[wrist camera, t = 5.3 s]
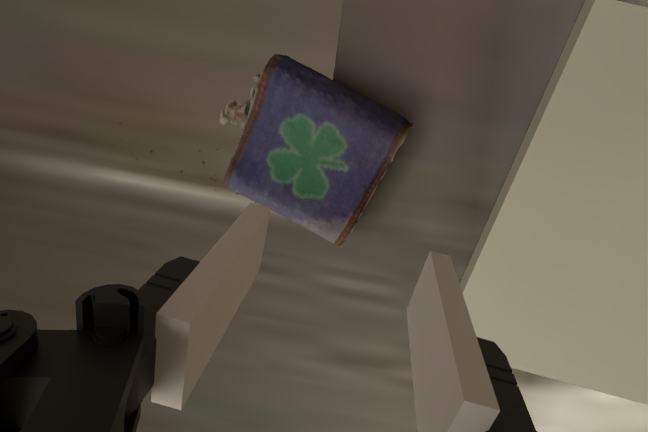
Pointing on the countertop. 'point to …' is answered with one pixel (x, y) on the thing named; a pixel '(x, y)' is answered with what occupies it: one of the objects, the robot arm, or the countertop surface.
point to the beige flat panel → (576, 219)
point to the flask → (311, 147)
